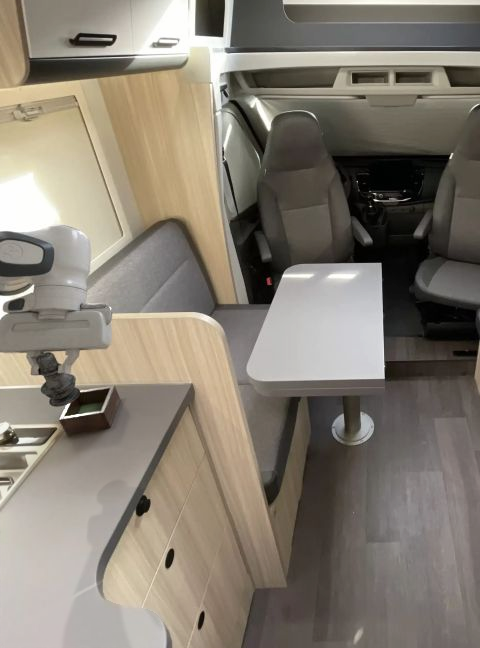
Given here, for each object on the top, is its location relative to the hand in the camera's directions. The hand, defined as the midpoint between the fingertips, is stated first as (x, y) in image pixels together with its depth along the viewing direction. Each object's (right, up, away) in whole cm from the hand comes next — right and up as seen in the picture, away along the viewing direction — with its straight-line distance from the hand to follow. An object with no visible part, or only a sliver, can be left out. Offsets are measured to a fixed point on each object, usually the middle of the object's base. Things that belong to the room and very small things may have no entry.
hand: (50, 374), depth 85 cm
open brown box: (-2, -13, +16) cm, 21 cm away
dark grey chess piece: (0, -5, +4) cm, 7 cm away
